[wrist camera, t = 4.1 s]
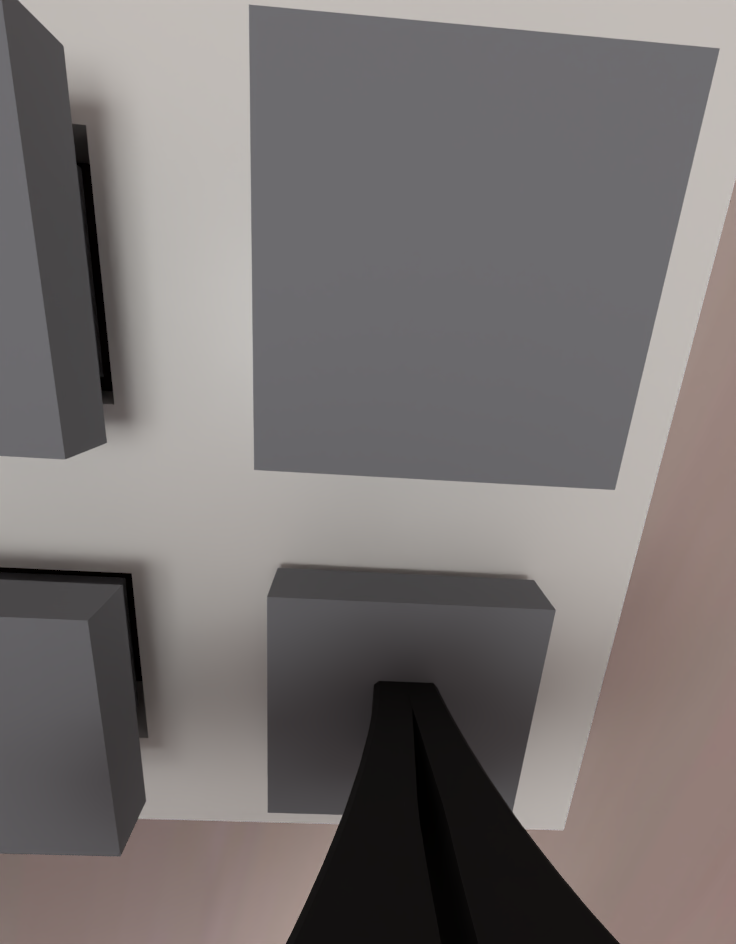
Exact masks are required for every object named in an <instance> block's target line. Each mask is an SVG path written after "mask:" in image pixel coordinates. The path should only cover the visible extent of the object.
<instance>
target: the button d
mask: <svg viewBox="0 0 736 944" xmlns="http://www.w3.org/2000/svg"><path fill="white" fill-rule="evenodd" d="M719 50H720V48H711V47H700V46H690V45H679V44H668V43H657V42H647V41H636V40H625V39H614V38H603V37H593V36H582V35H571V34H560V33H550V32H539V31H528V30H517V29H507V28H496V27H485V26H474V25H464V24H453V23H442V22H431V21H421V20H410V19H399V18H388V17H378V16H367V15H356V14H345V13H335V12H324V11H313V10H302V9H292V8H281V7H270V6H259V5H249V65H250V154H251V243H252V332H253V421H254V470H262V471H280V472H299V473H317V474H335V475H353V476H371V477H389V478H407V479H425V480H443V481H461V482H479V483H497V484H515V485H533V486H551V487H569V488H587V489H605V490H615V488H616V483H617V479H618V475H619V471H620V467H621V462H622V458H623V454H624V450H625V445H626V441H627V437H628V433H629V429H630V424H631V420H632V416H633V412H634V408H635V403H636V399H637V395H638V391H639V387H640V382H641V378H642V374H643V370H644V366H645V361H646V357H647V353H648V349H649V344H650V340H651V336H652V332H653V328H654V323H655V319H656V315H657V311H658V307H659V302H660V298H661V294H662V290H663V286H664V281H665V277H666V273H667V269H668V265H669V260H670V256H671V252H672V248H673V243H674V239H675V235H676V231H677V227H678V222H679V218H680V214H681V210H682V206H683V201H684V197H685V193H686V189H687V185H688V180H689V176H690V172H691V168H692V164H693V159H694V155H695V151H696V147H697V143H698V138H699V134H700V130H701V126H702V121H703V117H704V113H705V109H706V105H707V100H708V96H709V92H710V88H711V84H712V79H713V75H714V71H715V67H716V63H717V58H718V54H719Z"/></svg>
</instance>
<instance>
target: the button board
mask: <svg viewBox="0 0 736 944" xmlns="http://www.w3.org/2000/svg"><path fill="white" fill-rule="evenodd" d="M18 1H19V2H20V3H21V4H22V5H23V6H24V7H25V8H26V9H27V10H28V11H29V12H30V13H31V14H32V15H33V16H34V17H35V18H36V19H37V20H38V21H39V22H40V23H41V24H42V25H43V26H44V27H45V28H46V29H47V30H48V31H49V32H50V33H51V34H52V35H53V36H54V37H55V38H56V39H57V40H58V41H59V42H60V43H61V44H62V45H63V46H64V55H65V64H66V73H67V82H68V91H69V100H70V109H71V119H72V128H73V137H74V146H75V155H76V163H88V164H90V169H91V179H92V189H93V199H94V209H95V218H96V228H97V238H98V248H99V258H100V267H101V277H102V287H103V297H104V307H105V317H106V326H107V336H108V346H109V356H110V366H111V376H112V385H113V391H101V393H102V402H103V411H104V420H105V429H106V439H107V443H105V444H103V445H100V446H98V447H95V448H93V449H91V450H88V451H86V452H83V453H81V454H78V455H76V456H73V457H71V458H68V459H66V460H64V459H46V458H28V457H10V456H0V567H7V568H29V569H50V570H72V571H93V572H114V573H132V582H133V592H134V602H135V611H136V621H137V631H138V641H139V651H140V661H141V670H142V680H143V681H136V684H137V693H138V702H139V705H138V707H137V709H136V713H137V722H138V731H139V740H140V749H141V759H142V768H143V777H144V786H145V795H146V802H145V805H144V807H143V809H142V811H141V813H140V815H139V817H138V819H164V820H201V821H238V822H275V823H312V824H339V823H340V821H341V818H342V815H329V814H293V813H268V776H267V596H268V593H269V590H270V587H271V585H272V582H273V579H274V576H275V574H276V571H277V568H293V569H314V570H335V571H356V572H377V573H398V574H419V575H440V576H461V577H481V578H502V579H523V580H534V581H535V582H536V584H537V585H538V586H539V588H540V589H541V590H542V592H543V593H544V595H545V596H546V597H547V599H548V600H549V601H550V603H551V604H552V605H553V607H554V608H555V610H556V612H555V616H554V621H553V626H552V630H551V635H550V640H549V644H548V649H547V654H546V658H545V663H544V667H543V672H542V677H541V681H540V686H539V691H538V695H537V700H536V705H535V709H534V714H533V719H532V723H531V728H530V733H529V737H528V742H527V747H526V751H525V756H524V761H523V765H522V770H521V775H520V779H519V784H518V789H517V793H516V798H515V803H514V807H513V813H514V815H515V816H516V818H517V819H518V820H519V822H520V823H521V825H522V826H523V827H524V829H533V830H564V827H565V823H566V819H567V815H568V812H569V808H570V804H571V800H572V796H573V793H574V789H575V785H576V781H577V777H578V774H579V770H580V766H581V762H582V759H583V755H584V751H585V747H586V743H587V740H588V736H589V732H590V728H591V725H592V721H593V717H594V713H595V709H596V706H597V702H598V698H599V694H600V690H601V687H602V683H603V679H604V675H605V672H606V668H607V664H608V660H609V656H610V653H611V649H612V645H613V641H614V637H615V634H616V630H617V626H618V622H619V619H620V615H621V611H622V607H623V603H624V600H625V596H626V592H627V588H628V584H629V581H630V577H631V573H632V569H633V566H634V562H635V558H636V554H637V550H638V547H639V543H640V539H641V535H642V532H643V528H644V524H645V520H646V516H647V513H648V509H649V505H650V501H651V497H652V494H653V490H654V486H655V482H656V479H657V475H658V471H659V467H660V463H661V460H662V456H663V452H664V448H665V444H666V441H667V437H668V433H669V429H670V426H671V422H672V418H673V414H674V410H675V407H676V403H677V399H678V395H679V392H680V388H681V384H682V380H683V376H684V373H685V369H686V365H687V361H688V357H689V354H690V350H691V346H692V342H693V339H694V335H695V331H696V327H697V323H698V320H699V316H700V312H701V308H702V304H703V301H704V297H705V293H706V289H707V286H708V282H709V278H710V274H711V270H712V267H713V263H714V259H715V255H716V252H717V248H718V244H719V240H720V236H721V233H722V229H723V225H724V221H725V217H726V214H727V210H728V206H729V202H730V199H731V195H732V191H733V187H734V183H735V180H736V0H18ZM249 5H259V6H270V7H281V8H292V9H302V10H313V11H324V12H335V13H345V14H356V15H367V16H378V17H388V18H399V19H410V20H421V21H431V22H442V23H453V24H464V25H474V26H485V27H496V28H507V29H517V30H528V31H539V32H550V33H560V34H571V35H582V36H593V37H603V38H614V39H625V40H636V41H647V42H657V43H668V44H679V45H690V46H700V47H711V48H720V50H719V54H718V58H717V63H716V67H715V71H714V75H713V79H712V84H711V88H710V92H709V96H708V100H707V105H706V109H705V113H704V117H703V121H702V126H701V130H700V134H699V138H698V143H697V147H696V151H695V155H694V159H693V164H692V168H691V172H690V176H689V180H688V185H687V189H686V193H685V197H684V201H683V206H682V210H681V214H680V218H679V222H678V227H677V231H676V235H675V239H674V243H673V248H672V252H671V256H670V260H669V265H668V269H667V273H666V277H665V281H664V286H663V290H662V294H661V298H660V302H659V307H658V311H657V315H656V319H655V323H654V328H653V332H652V336H651V340H650V344H649V349H648V353H647V357H646V361H645V366H644V370H643V374H642V378H641V382H640V387H639V391H638V395H637V399H636V403H635V408H634V412H633V416H632V420H631V424H630V429H629V433H628V437H627V441H626V445H625V450H624V454H623V458H622V462H621V467H620V471H619V475H618V479H617V483H616V488H615V490H605V489H587V488H569V487H551V486H533V485H515V484H497V483H479V482H461V481H443V480H425V479H407V478H389V477H371V476H353V475H335V474H317V473H299V472H280V471H262V470H254V421H253V332H252V243H251V154H250V65H249Z"/></svg>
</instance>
